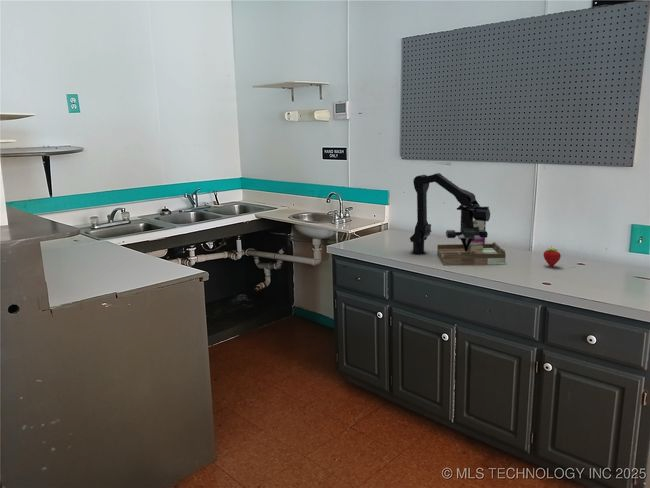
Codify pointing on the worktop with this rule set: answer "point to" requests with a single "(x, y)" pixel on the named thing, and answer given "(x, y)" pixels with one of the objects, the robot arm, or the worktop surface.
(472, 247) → the birch block
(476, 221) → the candy bar box
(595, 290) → the worktop surface
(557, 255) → the strawberry
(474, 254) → the brown wooden tray
